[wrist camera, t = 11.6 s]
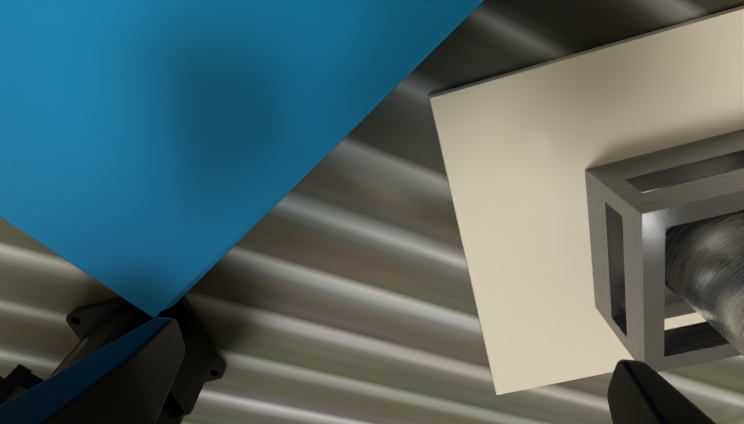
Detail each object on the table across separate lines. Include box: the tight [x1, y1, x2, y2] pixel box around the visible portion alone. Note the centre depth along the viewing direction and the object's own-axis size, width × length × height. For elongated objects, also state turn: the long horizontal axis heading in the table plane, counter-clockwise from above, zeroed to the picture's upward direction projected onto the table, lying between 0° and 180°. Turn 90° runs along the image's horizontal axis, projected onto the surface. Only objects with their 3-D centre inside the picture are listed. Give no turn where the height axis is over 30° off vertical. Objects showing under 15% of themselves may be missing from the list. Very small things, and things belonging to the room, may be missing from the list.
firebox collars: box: [585, 129, 744, 372], centre depth 19 cm, size 8×8×5 cm
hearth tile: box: [429, 5, 744, 395], centre depth 21 cm, size 20×18×1 cm
